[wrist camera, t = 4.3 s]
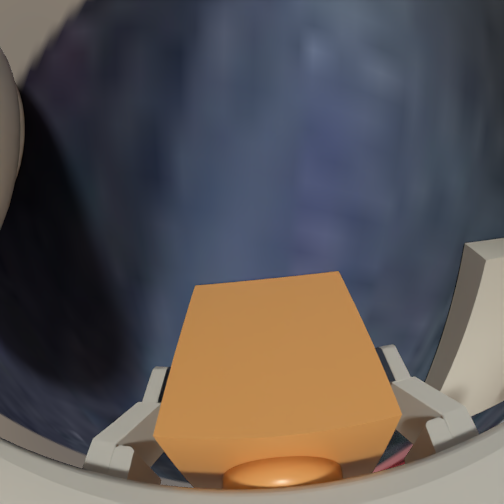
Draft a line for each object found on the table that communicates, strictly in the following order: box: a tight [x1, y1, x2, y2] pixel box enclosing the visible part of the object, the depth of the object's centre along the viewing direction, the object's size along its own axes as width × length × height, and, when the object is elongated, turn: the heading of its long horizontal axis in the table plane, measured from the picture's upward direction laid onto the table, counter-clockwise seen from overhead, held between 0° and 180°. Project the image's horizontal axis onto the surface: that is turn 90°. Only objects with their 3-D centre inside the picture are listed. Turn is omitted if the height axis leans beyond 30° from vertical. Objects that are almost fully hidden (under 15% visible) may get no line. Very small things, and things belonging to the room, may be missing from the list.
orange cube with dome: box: [153, 271, 402, 489], centre depth 8 cm, size 5×5×7 cm
